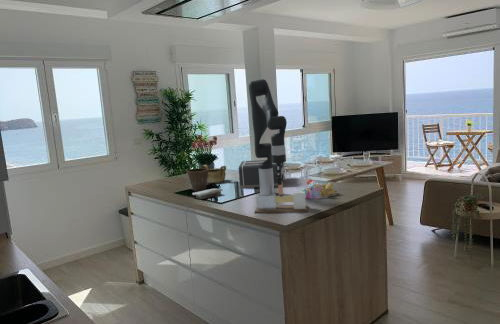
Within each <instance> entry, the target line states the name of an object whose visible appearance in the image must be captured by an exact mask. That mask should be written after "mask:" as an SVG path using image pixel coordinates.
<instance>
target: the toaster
mask: <svg viewBox="0 0 500 324" xmlns="http://www.w3.org/2000/svg"><path fill="white" fill-rule="evenodd" d="M266 160H267V158H265V159H256V160H255V159H254V160H253V159H252V160H245V161H244V160H243V161H241V163H240V164H239V166H238V176H239V177H238V180H239V189H255V187H257V188H260V182H259V169H258V165H259V164H260V163H263V162H264V161H266ZM272 164H273V178H274V186H275V187H278V181H277V177H276V166H277V163H273V162H272ZM283 166H284V168H283V169H284V170H285V168H286V167H287V168H288V167H289V164H288V163H287V162H284V163H283ZM278 175H279V174H278ZM285 180H286V175H285V171H284V172H283V182H282V185H283V187H284V181H285Z"/></svg>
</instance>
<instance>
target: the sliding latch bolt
mask: <svg viewBox="0 0 500 324" xmlns="http://www.w3.org/2000/svg"><path fill="white" fill-rule="evenodd" d="M283 185H284V184H283ZM283 185H278V186H277V187H278V195H276V196H275V203H276V204H278V203H294V200H293V194H292V195H283V194H284V189H283V187H284V186H283Z"/></svg>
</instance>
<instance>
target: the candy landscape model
mask: <svg viewBox="0 0 500 324" xmlns="http://www.w3.org/2000/svg"><path fill="white" fill-rule="evenodd" d="M306 184H307V189H306V188H305V187H303V188H301V190H300V191H297V192H305V199H310V200H311V199H312V200H318V199H328V198H329V197H333V196H337V194H338V191H337V190H336V189H335V188H333V186H334V184H333V183H331V182H328V183H327V184H322V183H319V182H317V181H314V180H313V179H311V178H309V179H307V181H306Z"/></svg>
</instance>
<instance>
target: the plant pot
mask: <svg viewBox="0 0 500 324" xmlns="http://www.w3.org/2000/svg"><path fill="white" fill-rule="evenodd" d="M186 172H187V176H188V179H189V183H190V185H191V187H192V190H193V191H194V192H200V191H204V190H207V185H208V182H207V179H208V169H207V168H202V167H201V168H200V167H199V168H198V167H197V168H192V169H188V170H187V171H186Z"/></svg>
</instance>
